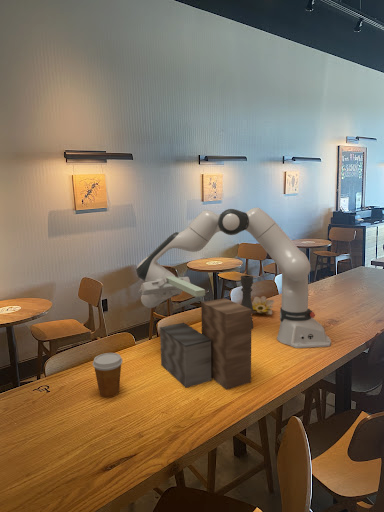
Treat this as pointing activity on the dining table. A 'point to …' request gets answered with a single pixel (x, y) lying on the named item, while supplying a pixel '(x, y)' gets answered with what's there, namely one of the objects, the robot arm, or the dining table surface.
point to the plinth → (228, 341)
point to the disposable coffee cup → (108, 373)
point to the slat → (186, 286)
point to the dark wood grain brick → (186, 354)
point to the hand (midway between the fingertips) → (172, 279)
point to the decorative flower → (262, 305)
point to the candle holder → (247, 292)
